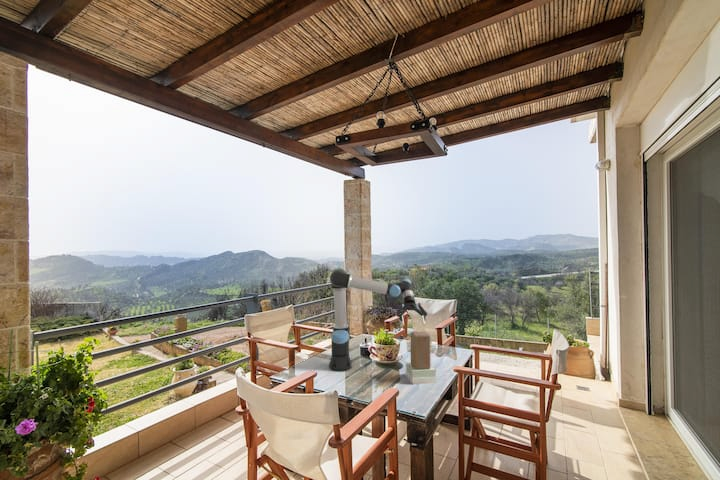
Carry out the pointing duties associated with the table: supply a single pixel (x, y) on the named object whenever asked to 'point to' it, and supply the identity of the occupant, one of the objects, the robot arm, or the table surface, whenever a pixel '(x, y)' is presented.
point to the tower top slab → (420, 371)
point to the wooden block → (420, 350)
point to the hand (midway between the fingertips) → (413, 325)
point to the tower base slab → (421, 379)
